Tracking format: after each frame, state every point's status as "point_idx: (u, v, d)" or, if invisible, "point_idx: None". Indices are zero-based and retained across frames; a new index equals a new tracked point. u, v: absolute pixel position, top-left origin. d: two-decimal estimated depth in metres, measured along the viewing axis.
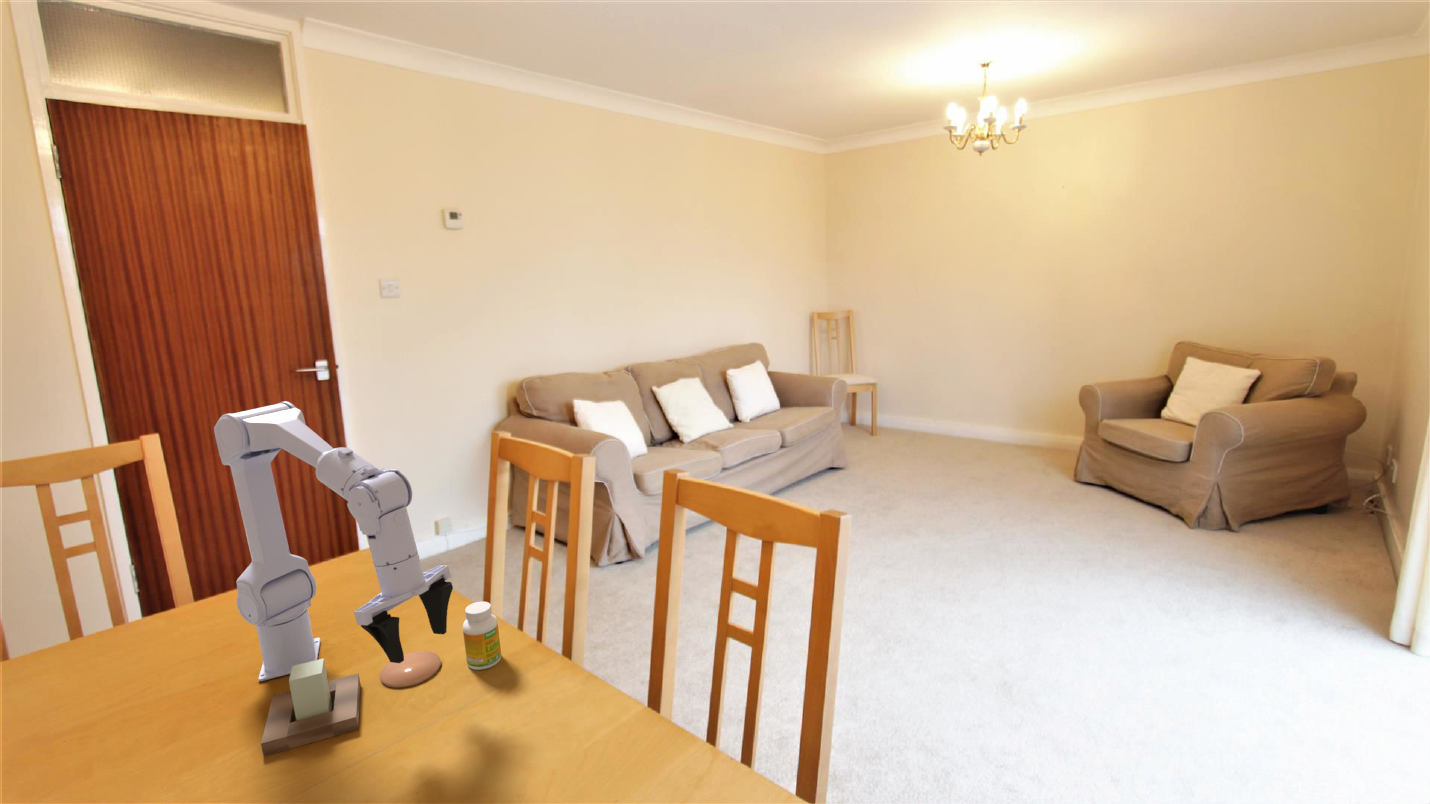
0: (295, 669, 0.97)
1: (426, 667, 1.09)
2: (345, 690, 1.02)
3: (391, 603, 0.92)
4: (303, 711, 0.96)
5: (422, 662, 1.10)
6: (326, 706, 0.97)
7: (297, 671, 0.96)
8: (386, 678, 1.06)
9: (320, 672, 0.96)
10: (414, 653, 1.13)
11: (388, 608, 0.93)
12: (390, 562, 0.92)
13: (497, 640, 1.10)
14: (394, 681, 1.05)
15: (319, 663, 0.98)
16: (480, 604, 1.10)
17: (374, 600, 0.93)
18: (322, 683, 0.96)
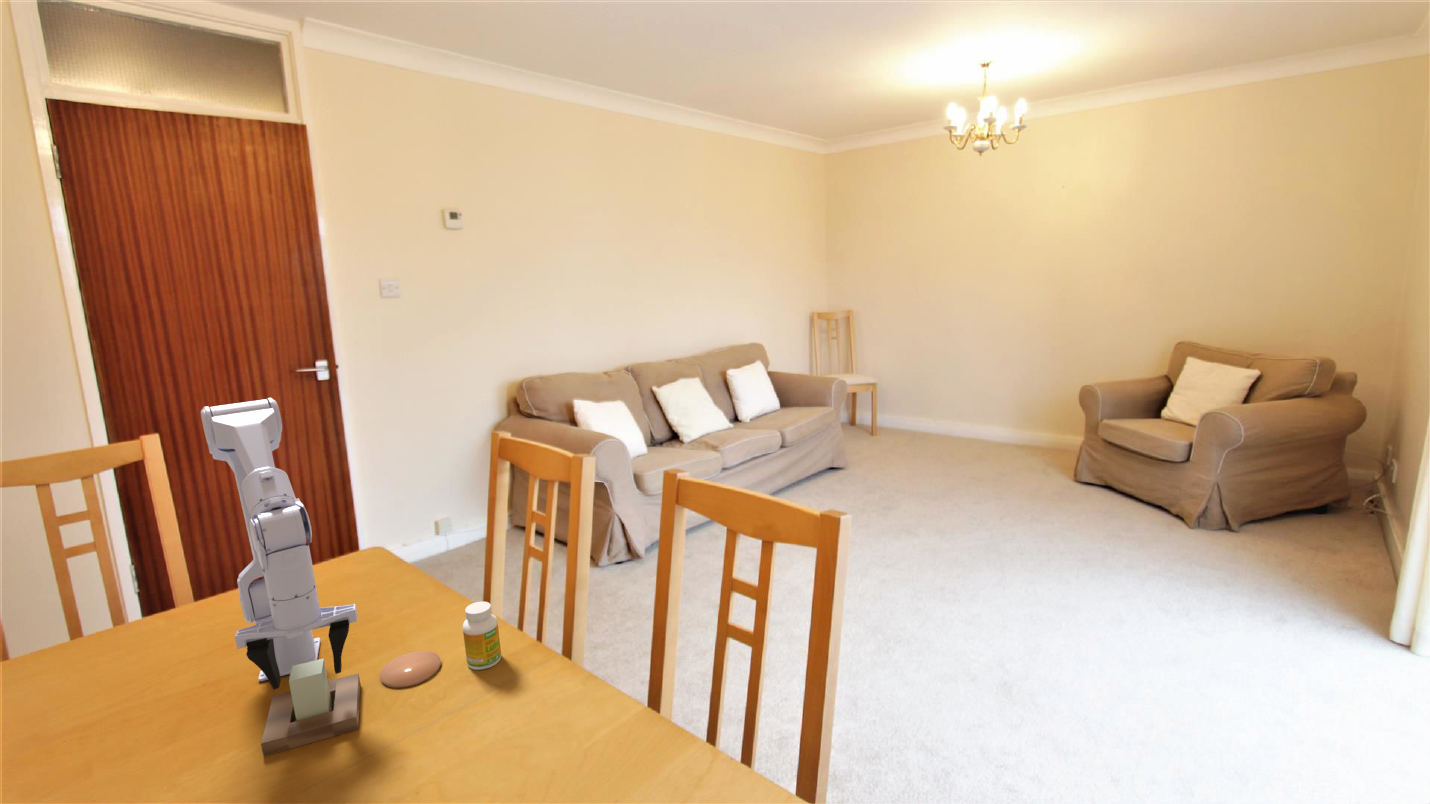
0: (295, 669, 0.97)
1: (426, 667, 1.09)
2: (345, 690, 1.02)
3: (265, 636, 0.92)
4: (303, 711, 0.96)
5: (422, 662, 1.10)
6: (326, 706, 0.97)
7: (297, 671, 0.96)
8: (386, 678, 1.06)
9: (320, 672, 0.96)
10: (414, 653, 1.13)
11: (272, 636, 0.94)
12: (275, 598, 0.91)
13: (497, 640, 1.10)
14: (394, 681, 1.05)
15: (319, 663, 0.98)
16: (480, 604, 1.10)
17: (269, 622, 0.95)
18: (322, 683, 0.96)
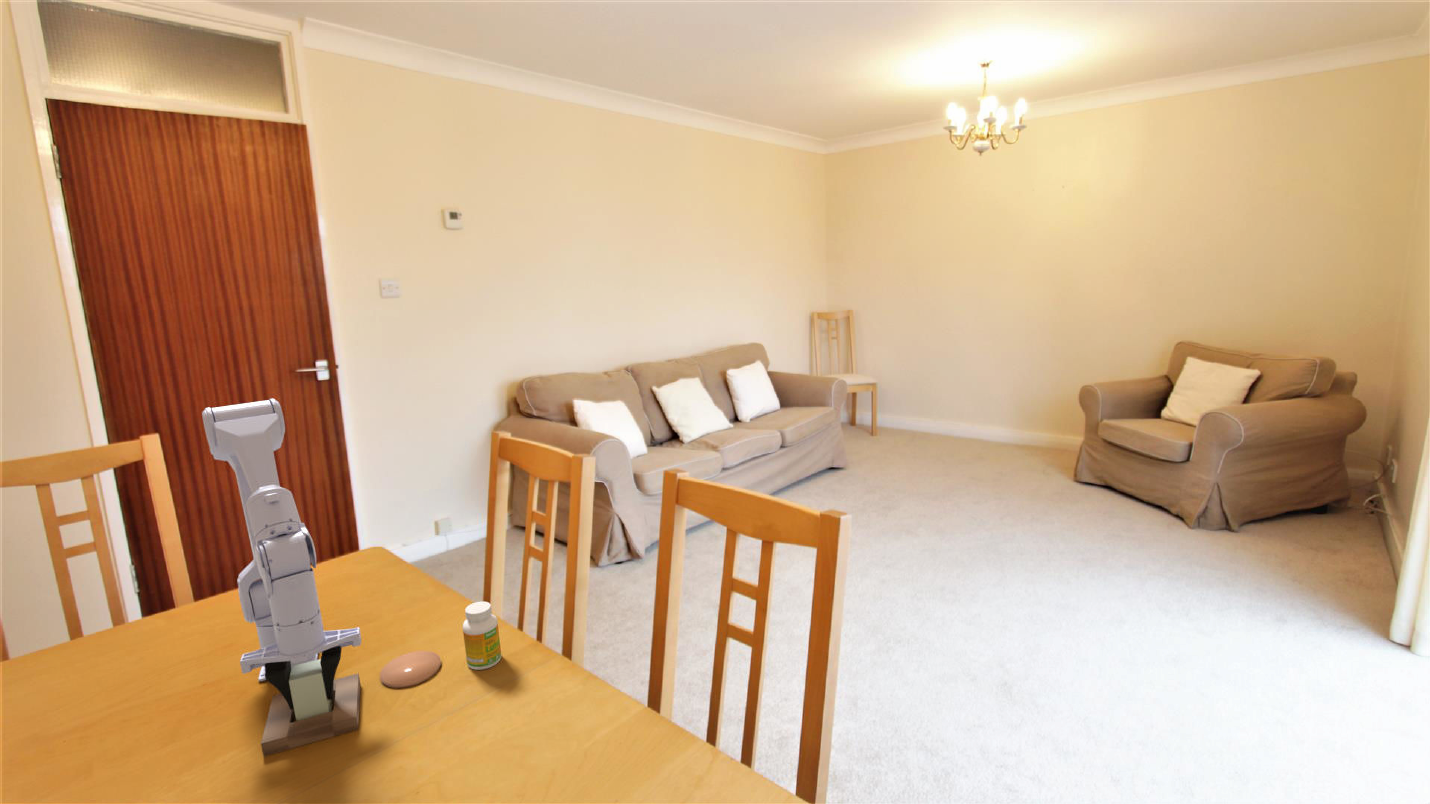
0: (295, 669, 0.97)
1: (426, 667, 1.09)
2: (345, 690, 1.02)
3: (269, 661, 0.93)
4: (303, 710, 0.96)
5: (422, 662, 1.10)
6: (326, 706, 0.97)
7: (297, 671, 0.96)
8: (386, 678, 1.06)
9: (320, 672, 0.96)
10: (414, 653, 1.13)
11: None
12: (280, 624, 0.92)
13: (497, 640, 1.10)
14: (394, 681, 1.05)
15: (319, 663, 0.98)
16: (480, 604, 1.10)
17: (274, 646, 0.96)
18: (322, 683, 0.96)
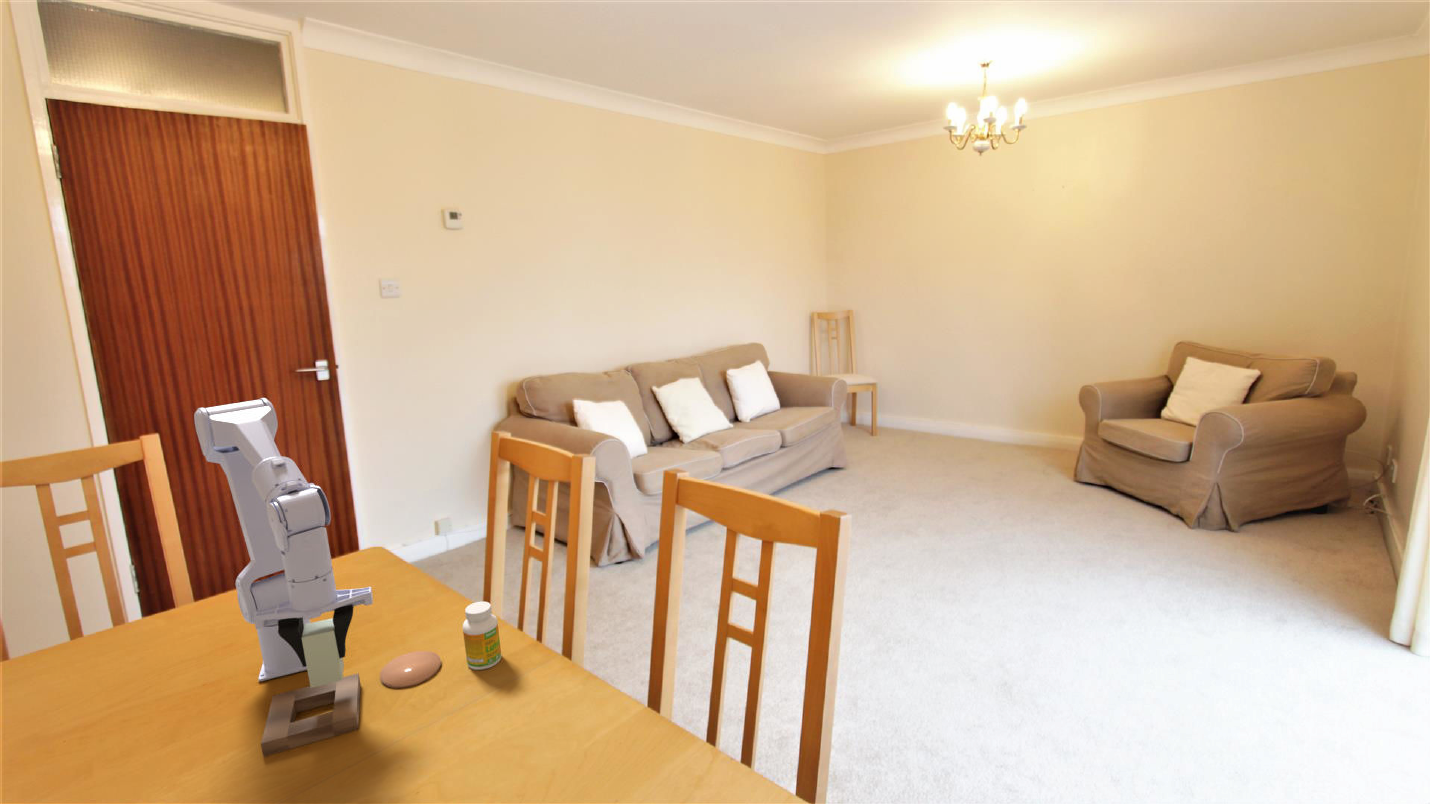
0: (308, 627, 0.98)
1: (426, 667, 1.09)
2: (345, 690, 1.02)
3: (283, 617, 0.93)
4: (316, 668, 0.96)
5: (422, 662, 1.10)
6: (338, 664, 0.98)
7: (309, 629, 0.97)
8: (386, 678, 1.06)
9: (332, 630, 0.97)
10: (414, 653, 1.13)
11: (289, 617, 0.95)
12: (295, 580, 0.93)
13: (497, 640, 1.10)
14: (394, 681, 1.05)
15: (331, 621, 0.99)
16: (480, 604, 1.10)
17: (287, 604, 0.97)
18: (334, 641, 0.97)
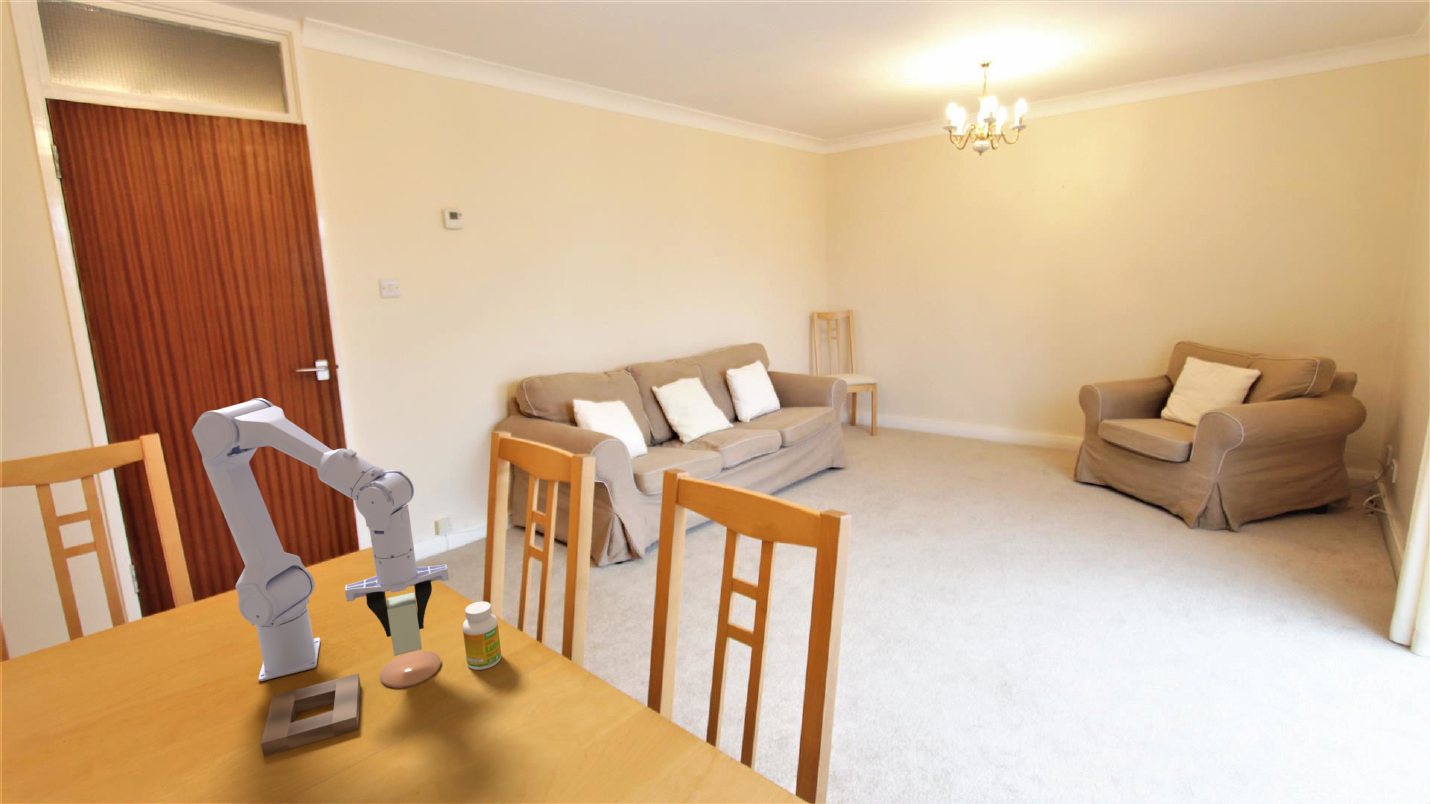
0: (391, 600, 1.07)
1: (426, 667, 1.09)
2: (345, 690, 1.02)
3: (371, 590, 1.03)
4: (399, 637, 1.05)
5: (422, 662, 1.10)
6: (418, 634, 1.07)
7: (393, 602, 1.06)
8: (386, 678, 1.06)
9: (414, 603, 1.06)
10: (414, 653, 1.13)
11: (375, 591, 1.04)
12: (395, 555, 1.02)
13: (497, 640, 1.10)
14: (394, 681, 1.05)
15: (411, 596, 1.08)
16: (480, 604, 1.10)
17: (372, 579, 1.06)
18: (415, 613, 1.06)
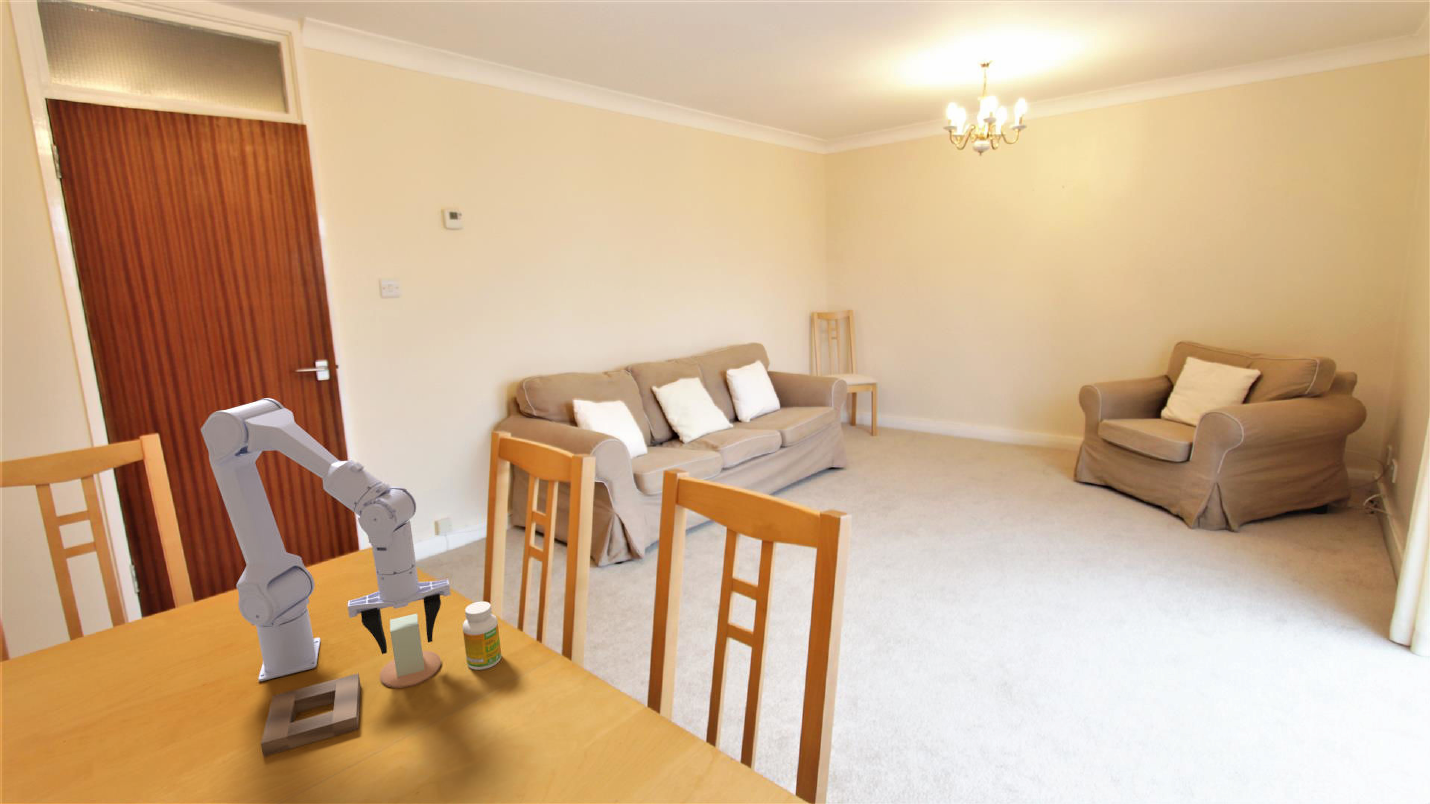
0: (394, 622, 1.07)
1: (426, 667, 1.09)
2: (345, 690, 1.02)
3: (373, 606, 1.03)
4: (402, 659, 1.06)
5: None
6: (421, 655, 1.08)
7: (395, 624, 1.07)
8: (386, 678, 1.06)
9: (417, 624, 1.07)
10: None
11: (378, 607, 1.05)
12: (397, 571, 1.03)
13: (497, 640, 1.10)
14: (394, 681, 1.05)
15: (414, 617, 1.09)
16: (480, 604, 1.10)
17: (374, 595, 1.06)
18: (418, 634, 1.07)
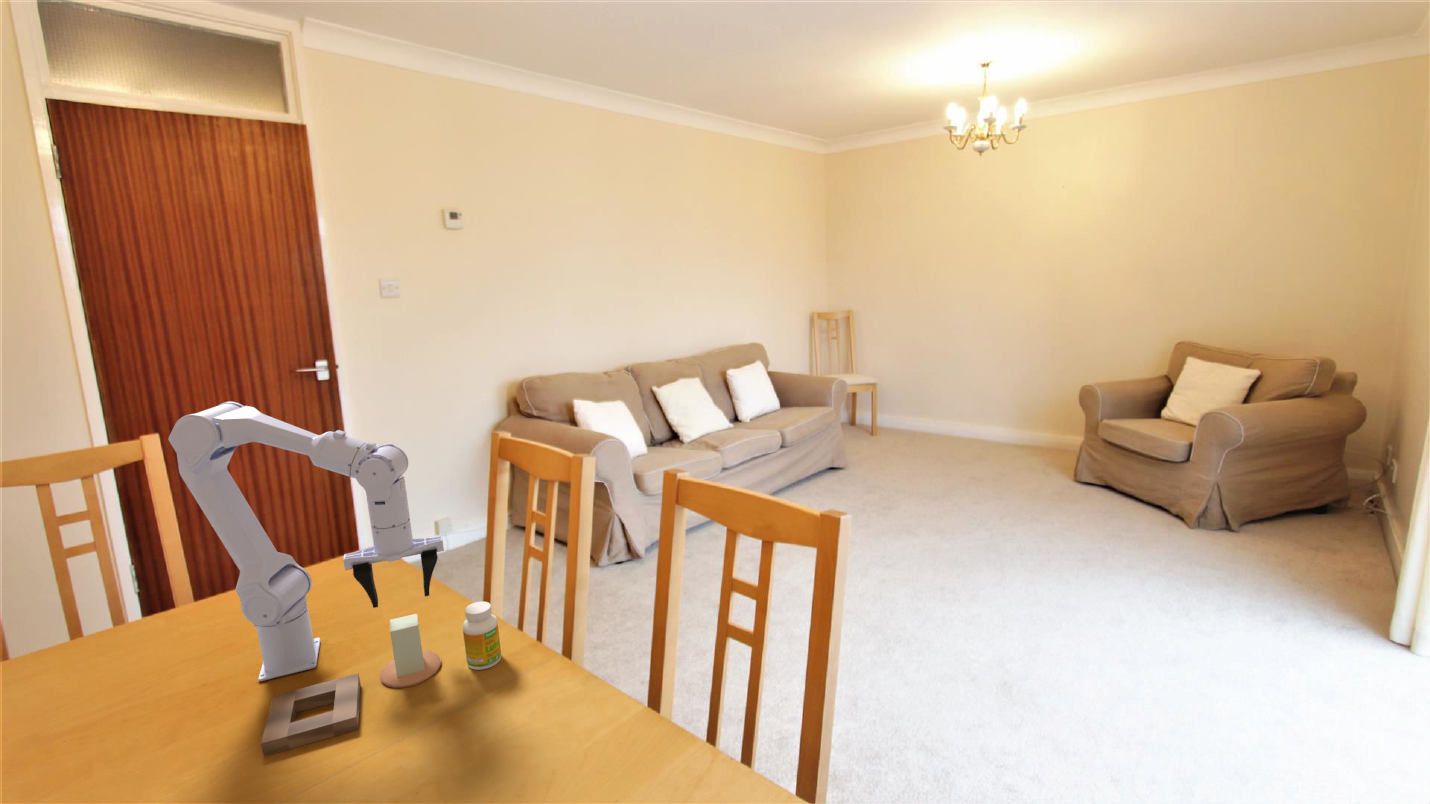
0: (394, 622, 1.07)
1: (426, 667, 1.09)
2: (345, 690, 1.02)
3: (368, 559, 1.06)
4: (402, 659, 1.06)
5: None
6: (421, 655, 1.08)
7: (395, 624, 1.07)
8: (386, 678, 1.06)
9: (417, 624, 1.07)
10: None
11: (373, 561, 1.08)
12: (395, 524, 1.06)
13: (497, 640, 1.10)
14: (394, 681, 1.05)
15: (414, 617, 1.09)
16: (480, 604, 1.10)
17: (369, 549, 1.09)
18: (418, 634, 1.07)
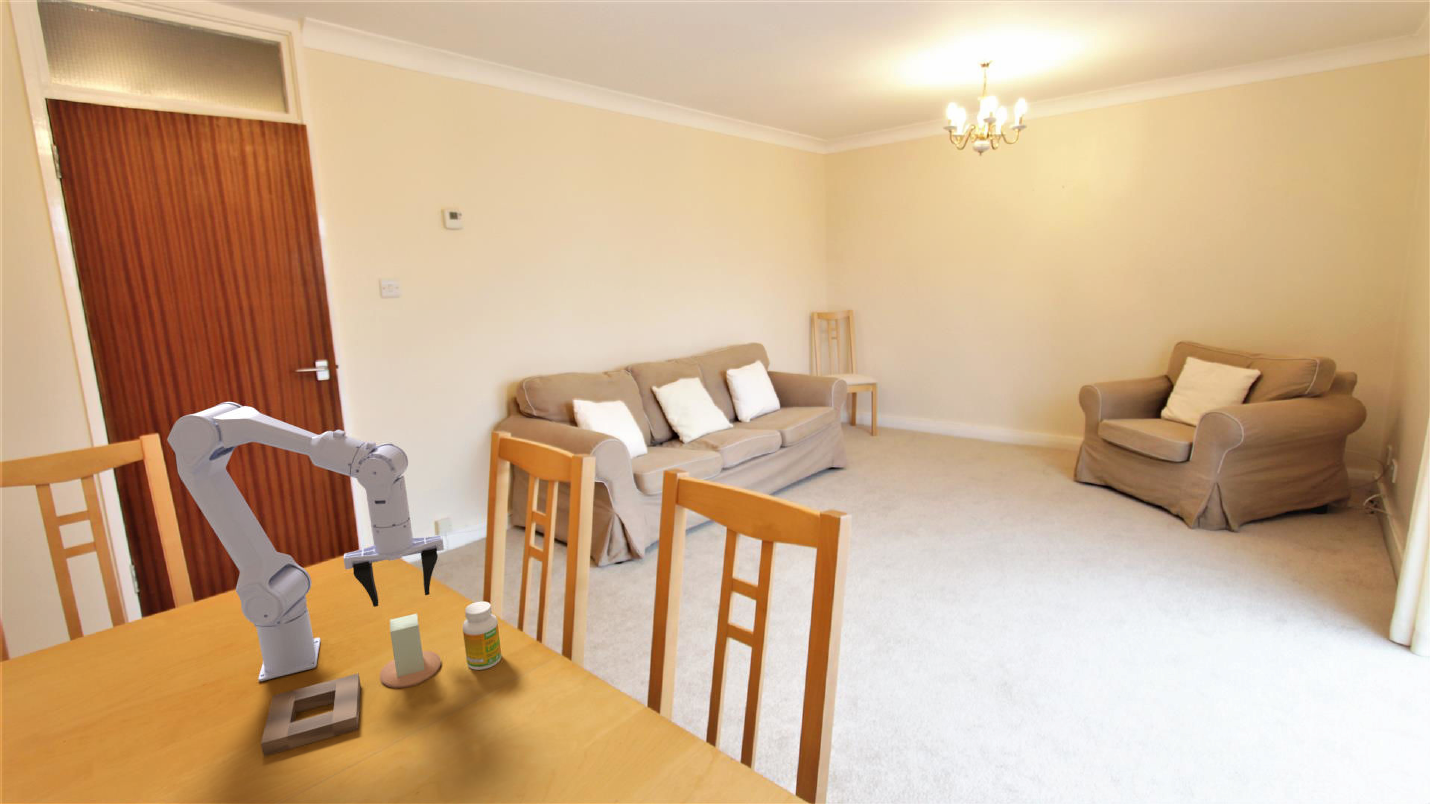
0: (394, 622, 1.07)
1: (426, 667, 1.09)
2: (345, 690, 1.02)
3: (369, 558, 1.06)
4: (402, 659, 1.06)
5: None
6: (421, 655, 1.08)
7: (395, 624, 1.07)
8: (386, 678, 1.06)
9: (417, 624, 1.07)
10: None
11: (373, 560, 1.08)
12: (396, 523, 1.06)
13: (497, 640, 1.10)
14: (394, 681, 1.05)
15: (414, 617, 1.09)
16: (480, 604, 1.10)
17: (369, 548, 1.09)
18: (418, 634, 1.07)
